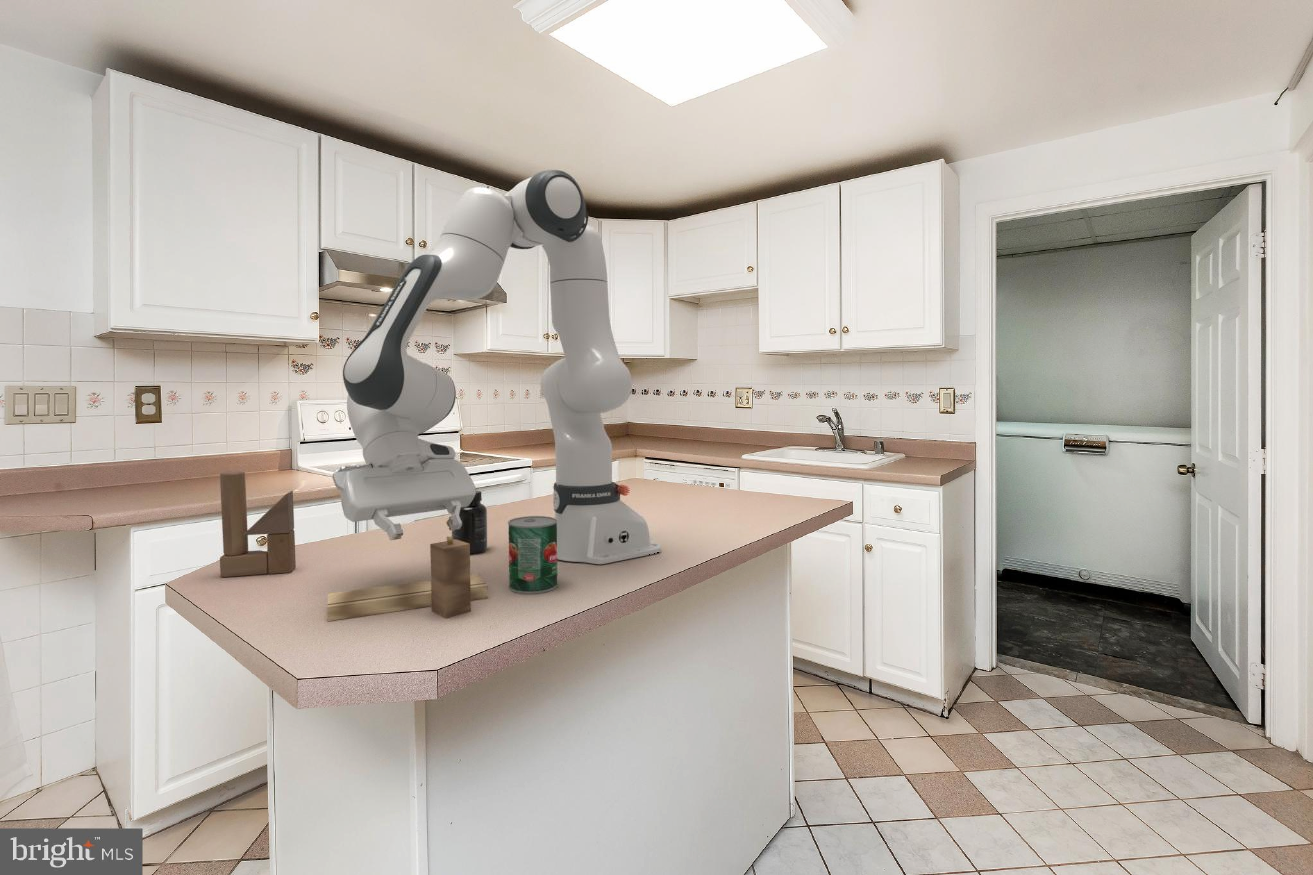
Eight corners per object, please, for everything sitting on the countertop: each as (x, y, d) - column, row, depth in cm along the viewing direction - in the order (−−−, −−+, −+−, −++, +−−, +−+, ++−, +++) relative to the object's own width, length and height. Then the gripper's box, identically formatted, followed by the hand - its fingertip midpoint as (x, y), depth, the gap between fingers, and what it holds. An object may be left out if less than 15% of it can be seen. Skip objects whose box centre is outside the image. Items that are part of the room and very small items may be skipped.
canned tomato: (564, 589, 100) (564, 522, 100) (517, 597, 96) (516, 527, 96) (548, 576, 107) (547, 514, 106) (503, 583, 103) (502, 518, 103)
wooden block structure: (290, 573, 109) (287, 471, 107) (219, 578, 105) (214, 473, 104) (296, 567, 112) (292, 469, 111) (227, 572, 109) (223, 471, 108)
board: (479, 586, 102) (478, 573, 102) (487, 597, 96) (487, 584, 96) (328, 606, 92) (327, 592, 91) (327, 621, 86) (327, 606, 86)
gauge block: (456, 604, 93) (455, 532, 92) (470, 611, 90) (469, 537, 89) (431, 611, 90) (430, 537, 89) (445, 618, 87) (444, 541, 87)
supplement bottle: (485, 545, 129) (484, 488, 128) (489, 553, 123) (488, 493, 122) (450, 548, 126) (449, 490, 125) (453, 556, 120) (452, 495, 119)
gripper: (334, 454, 90) (363, 530, 84) (461, 446, 105) (493, 511, 99) (323, 481, 93) (350, 556, 87) (448, 470, 108) (479, 534, 102)
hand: (427, 532), depth 93 cm, fingers open, 8 cm apart
